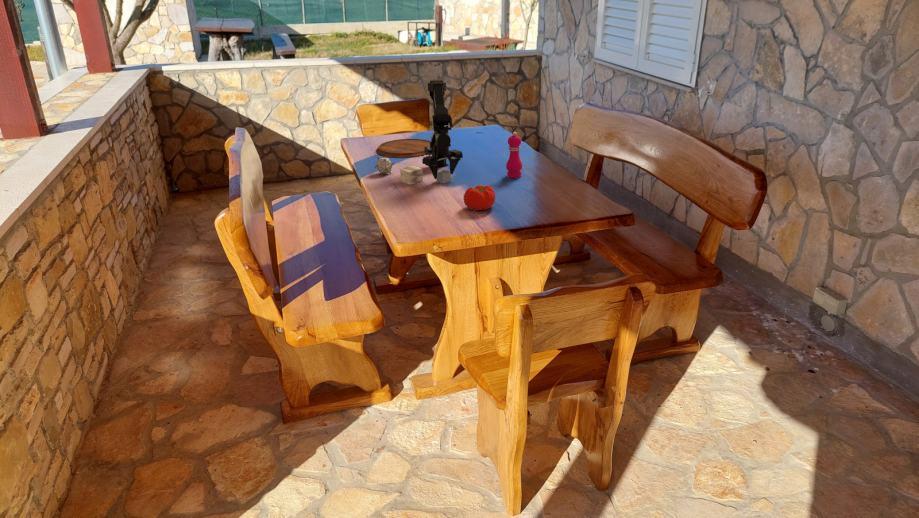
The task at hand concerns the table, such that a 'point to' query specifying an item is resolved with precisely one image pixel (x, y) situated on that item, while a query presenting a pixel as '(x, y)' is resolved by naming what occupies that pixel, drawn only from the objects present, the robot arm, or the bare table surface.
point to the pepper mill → (514, 157)
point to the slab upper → (411, 172)
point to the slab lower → (412, 180)
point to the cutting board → (403, 148)
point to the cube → (443, 176)
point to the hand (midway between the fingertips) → (443, 176)
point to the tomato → (479, 197)
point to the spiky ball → (384, 165)
